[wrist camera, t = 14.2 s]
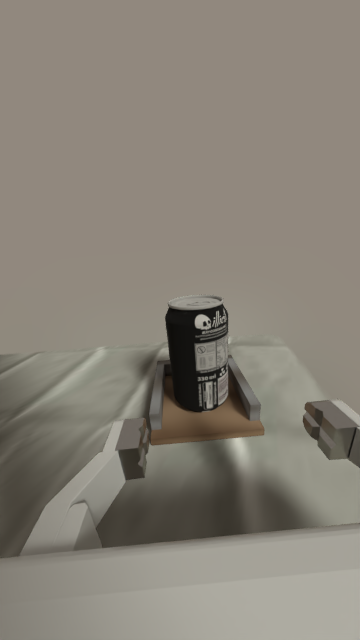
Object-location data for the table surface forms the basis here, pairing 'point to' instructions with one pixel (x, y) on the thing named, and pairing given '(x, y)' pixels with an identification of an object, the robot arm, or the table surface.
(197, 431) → the brown flat square tray
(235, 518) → the table surface
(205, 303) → the beverage can
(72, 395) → the table surface
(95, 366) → the table surface
